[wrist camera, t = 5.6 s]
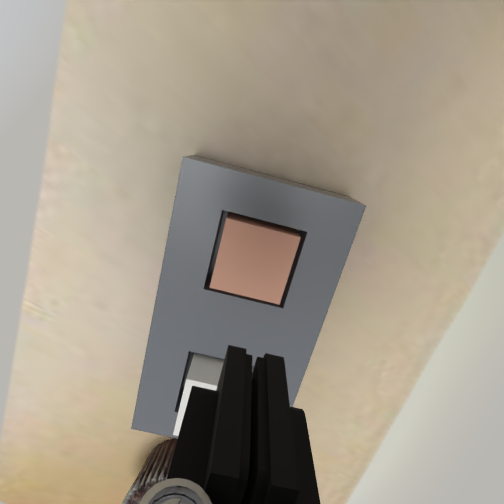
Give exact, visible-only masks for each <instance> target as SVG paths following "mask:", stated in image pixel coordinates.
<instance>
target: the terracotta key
mask: <svg viewBox="0 0 504 504" xmlns="http://www.w3.org/2000/svg"><path fill="white" fill-rule="evenodd" d="M300 238H301V237H300V235H299V233H298V231H297V229H295V228H291V227H287V226H283V225H279V224H275V223H272V222H268V221H264V220H260V219H256V218H252V217H248V216H245V215H241V214H237V213H233V212H229V213H228V215H227V218H226V221H225V225H224V229H223V234H222V238H221V242H220V246H219V250H218V254H217V259H216V263H215V267H214V271H213V275H212V279H211V283H210V288H213V289H217V290H221V291H226V292H230V293H234V294H238V295H242V296H246V297H250V298H254V299H258V300H263V301H267V302H271V303H275V304H279V305H280V302H281V299H282V295H283V292H284V289H285V286H286V283H287V280H288V276H289V273H290V270H291V267H292V264H293V261H294V257H295V254H296V251H297V248H298V245H299V242H300Z"/></svg>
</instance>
